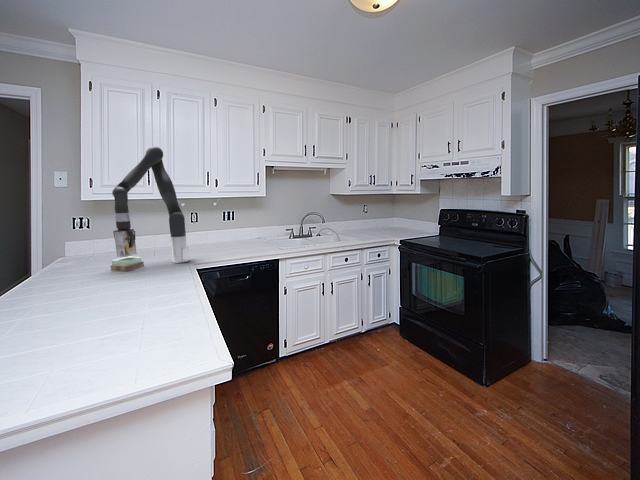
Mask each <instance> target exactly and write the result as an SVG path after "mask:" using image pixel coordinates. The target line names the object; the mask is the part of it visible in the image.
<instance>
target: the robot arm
mask: <svg viewBox="0 0 640 480" xmlns="http://www.w3.org/2000/svg"><path fill="white" fill-rule="evenodd" d="M163 158H164V152H163V150H162V148H160V147H159V146H150V147H148V149H147V150H146V151H145V155H144V156H143V158H142V159H141V160H140V162H139V163H137V165H136V166H135V167H134V168H132V169H131V170H130V171H129V172H128V173H127V175H125V177H124V178H123V179H122V180H121V182H119V183H118V184H117V185H116V186H115V187H114V188H113V189H112V196H113V197H114V213H115V214H114V215H115V216H114V218H115V227H116V230H113V234H114V231H117V230H127V233H128V234H129V233H130V234H131V236H129V237H127V238H128V241H129V242H128V243H129V248H132V247H133V241H134V240H135V241H136V231H135V230H134V231H131V230H130V229H132V228H131V227H132V225H131V216H130V212H129V211H130V210H129V205H128V203H129V201H128V199H129V197H128V196H129V195H128V193H129V192H130V191H131V190H132V189H133V188H135V186H136V185H137V184H138V183H139V182H140V181H141V180H142V179H143V178H144V176H145V175H146V174H147V173H148V171H150V169H151V170H152V173H153V177H154V180H155V183H156V187H157V189H158V192H159V195H160V197H161V198H162V201H163V203H164V204H165V205H166V208H167V212H168V225H169V234H170V242H171V253H172V254H171V255H172V262H173V263H176V264H177V263H179V264H180V263H181V264H182V263H186V262H189V261H190V254H189V246H187V245H188V243H187V232H186V220H185V219H186V218H185V215H184V213H183V211H182V210H181V208H180V204H179V202H178V197H177V194H176V190H175V186H174V183H173V181H172V180H171V179H172V178H171V177H170V175H169V173H168V172H167V171H166V169H165V166H164V162H163ZM113 237H114V236H113ZM129 238H130V239H129ZM114 239H115V237H114Z"/></svg>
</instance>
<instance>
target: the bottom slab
mask: <svg viewBox="0 0 640 480" xmlns="http://www.w3.org/2000/svg"><path fill="white" fill-rule="evenodd" d="M144 266H145V263H144V261H142V262H140V263H136V264H132V265H129V266H125V267H124V266H114V265H112V264H111V265H110V270H111V271H114V272H115V271H116V272H130V271H134V270H136V269H140V268H141V267H142V268H143V267H144Z"/></svg>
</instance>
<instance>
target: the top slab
mask: <svg viewBox="0 0 640 480" xmlns="http://www.w3.org/2000/svg"><path fill="white" fill-rule="evenodd" d="M140 262H143V261H142V257H141V256H128V257H119V258H116V259H111V263H112V264H111V265H114V266H124V267H125V266H129V265H132V264H136V263H140Z"/></svg>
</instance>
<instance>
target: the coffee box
mask: <svg viewBox="0 0 640 480" xmlns="http://www.w3.org/2000/svg"><path fill="white" fill-rule="evenodd" d="M116 230H117V231H115V230H113V231H114V233H113V237H115V238H114V244H115V250H116V251H115V252H116V257H117V258H124V257H129V256H130V257H133V256H134V255H137V253H138V252H137V246H136V244H137V243H136V239H135V240H134V241H133V247H132V248H129V243H128V242H129V241H128V238H127V237H129V236H131V234H130V233H129V234H128V233H127V230H118V229H116ZM130 230H131V231H135V230H134V228H130ZM129 239H130V238H129Z"/></svg>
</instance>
